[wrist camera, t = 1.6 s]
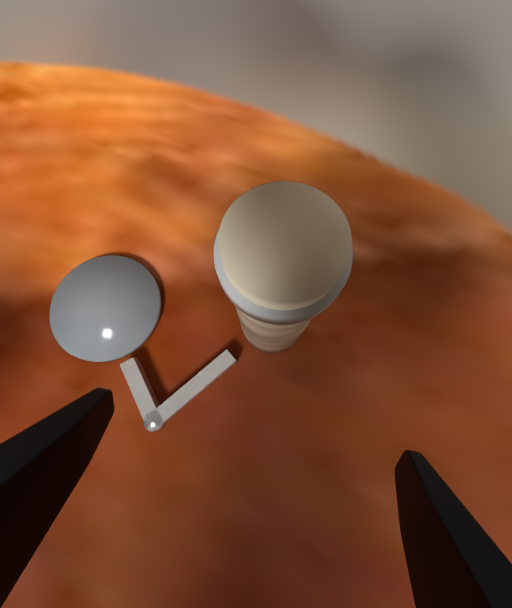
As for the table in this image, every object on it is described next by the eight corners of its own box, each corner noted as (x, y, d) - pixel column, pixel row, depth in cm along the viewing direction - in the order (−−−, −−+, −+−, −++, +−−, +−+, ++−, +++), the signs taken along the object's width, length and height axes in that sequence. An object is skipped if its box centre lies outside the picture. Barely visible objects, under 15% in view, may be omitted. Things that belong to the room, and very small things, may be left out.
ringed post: (258, 370, 22) (256, 340, 9) (225, 310, 23) (183, 213, 11) (319, 335, 23) (392, 264, 10) (283, 279, 24) (309, 151, 11)
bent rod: (153, 433, 21) (148, 434, 20) (124, 366, 22) (118, 365, 21) (246, 379, 22) (246, 378, 21) (213, 318, 23) (211, 315, 22)
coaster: (76, 383, 22) (71, 383, 21) (39, 288, 24) (34, 286, 23) (179, 327, 23) (177, 326, 22) (136, 241, 25) (133, 237, 24)
